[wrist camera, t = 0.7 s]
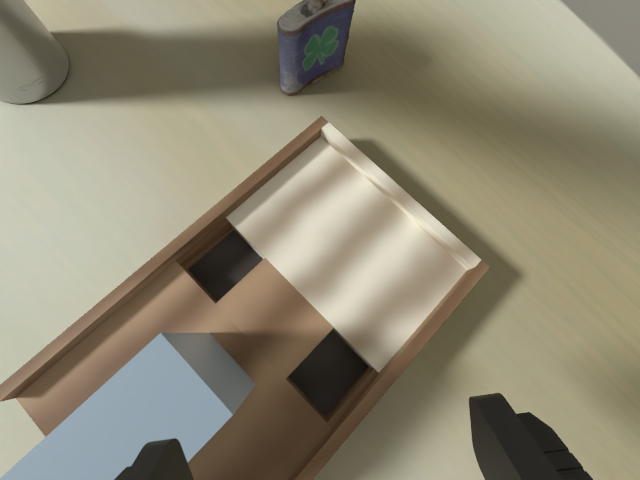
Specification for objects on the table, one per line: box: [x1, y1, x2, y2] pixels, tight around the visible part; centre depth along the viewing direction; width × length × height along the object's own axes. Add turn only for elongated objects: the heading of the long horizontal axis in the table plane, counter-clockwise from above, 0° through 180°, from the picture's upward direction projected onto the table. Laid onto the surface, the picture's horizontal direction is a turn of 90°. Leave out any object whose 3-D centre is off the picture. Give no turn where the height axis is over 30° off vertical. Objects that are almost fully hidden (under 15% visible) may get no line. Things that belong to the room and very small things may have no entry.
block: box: [0, 333, 256, 480], centre depth 22 cm, size 6×12×11 cm, turn 135°
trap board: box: [0, 116, 490, 480], centre depth 30 cm, size 22×36×4 cm, turn 135°
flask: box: [277, 0, 356, 95], centre depth 36 cm, size 9×3×11 cm, turn 128°
